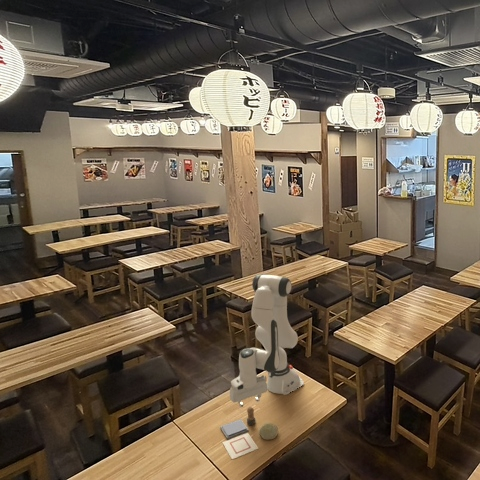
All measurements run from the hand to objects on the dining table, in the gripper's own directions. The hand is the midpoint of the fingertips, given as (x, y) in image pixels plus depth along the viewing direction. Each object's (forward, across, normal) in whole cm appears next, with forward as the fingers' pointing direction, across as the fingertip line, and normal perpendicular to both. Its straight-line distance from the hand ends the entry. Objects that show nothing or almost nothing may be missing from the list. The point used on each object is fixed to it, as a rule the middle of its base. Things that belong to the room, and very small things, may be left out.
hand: (249, 403), depth 208 cm
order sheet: (+12, +11, +11) cm, 20 cm away
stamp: (+12, -1, -1) cm, 12 cm away
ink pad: (+12, +9, 0) cm, 15 cm away
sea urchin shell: (+12, -5, +11) cm, 18 cm away
